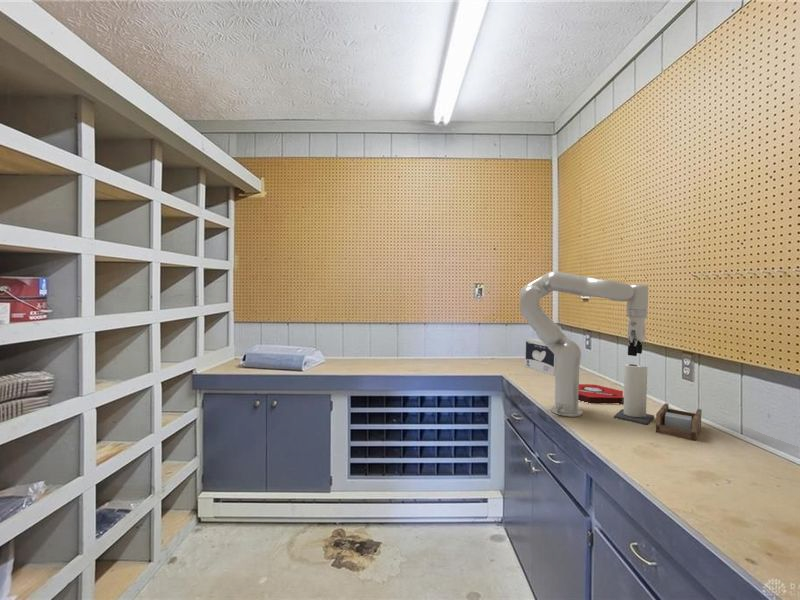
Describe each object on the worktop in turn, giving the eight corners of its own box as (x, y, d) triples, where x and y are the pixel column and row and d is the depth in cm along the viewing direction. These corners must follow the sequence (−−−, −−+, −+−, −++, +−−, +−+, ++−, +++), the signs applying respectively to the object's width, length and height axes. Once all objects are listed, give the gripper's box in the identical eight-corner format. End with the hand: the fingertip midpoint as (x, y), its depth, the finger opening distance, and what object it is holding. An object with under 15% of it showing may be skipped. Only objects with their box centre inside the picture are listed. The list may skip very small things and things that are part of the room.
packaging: (524, 366, 272) (525, 338, 271) (531, 366, 274) (532, 338, 273) (554, 375, 243) (555, 344, 243) (562, 375, 245) (563, 344, 244)
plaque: (622, 409, 176) (622, 394, 202) (622, 401, 176) (622, 388, 202) (559, 400, 189) (567, 387, 215) (559, 392, 189) (567, 381, 215)
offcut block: (690, 436, 143) (691, 420, 142) (664, 431, 148) (665, 415, 147) (691, 431, 147) (691, 416, 147) (665, 427, 152) (666, 412, 152)
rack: (695, 440, 138) (696, 421, 138) (655, 432, 146) (656, 413, 146) (700, 427, 153) (701, 409, 152) (664, 419, 161) (665, 403, 160)
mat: (647, 425, 154) (647, 423, 154) (613, 417, 162) (613, 416, 162) (653, 417, 164) (653, 415, 164) (622, 410, 172) (622, 408, 172)
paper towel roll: (620, 413, 165) (621, 364, 165) (630, 412, 167) (631, 363, 167) (635, 418, 158) (636, 367, 158) (646, 417, 161) (647, 366, 160)
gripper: (642, 315, 153) (640, 357, 154) (651, 314, 166) (649, 353, 166) (621, 313, 158) (619, 355, 159) (631, 312, 171) (629, 351, 171)
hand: (634, 354), depth 162 cm, fingers open, 9 cm apart
